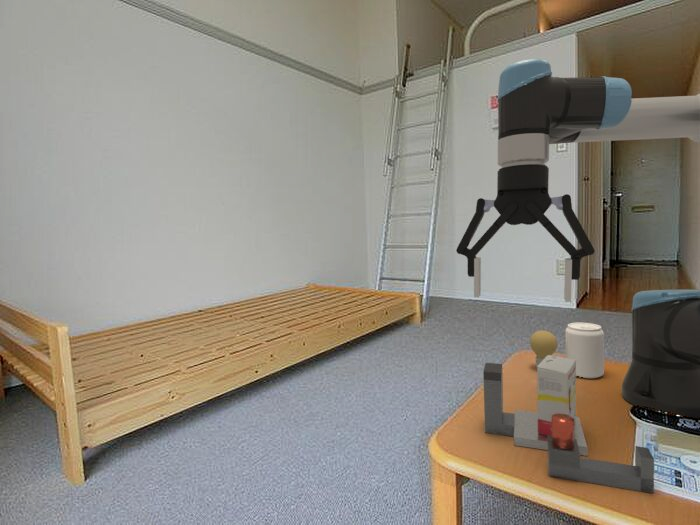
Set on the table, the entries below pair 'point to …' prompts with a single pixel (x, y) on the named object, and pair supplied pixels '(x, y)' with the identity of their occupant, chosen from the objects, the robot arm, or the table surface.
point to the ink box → (555, 390)
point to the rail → (612, 472)
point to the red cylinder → (563, 442)
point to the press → (516, 416)
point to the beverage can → (586, 348)
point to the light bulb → (543, 345)
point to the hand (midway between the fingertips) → (520, 298)
